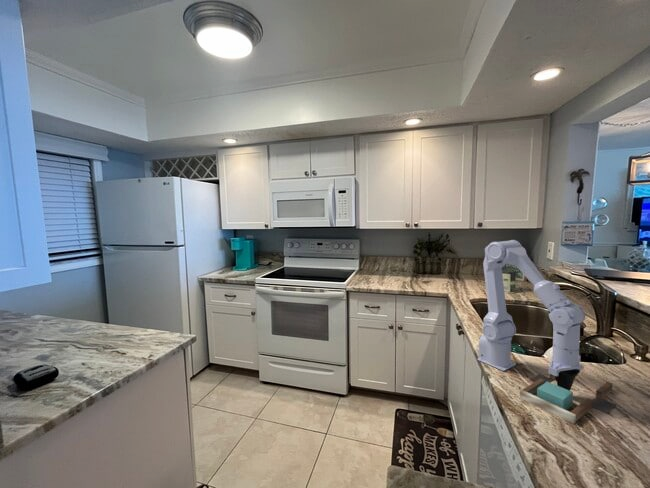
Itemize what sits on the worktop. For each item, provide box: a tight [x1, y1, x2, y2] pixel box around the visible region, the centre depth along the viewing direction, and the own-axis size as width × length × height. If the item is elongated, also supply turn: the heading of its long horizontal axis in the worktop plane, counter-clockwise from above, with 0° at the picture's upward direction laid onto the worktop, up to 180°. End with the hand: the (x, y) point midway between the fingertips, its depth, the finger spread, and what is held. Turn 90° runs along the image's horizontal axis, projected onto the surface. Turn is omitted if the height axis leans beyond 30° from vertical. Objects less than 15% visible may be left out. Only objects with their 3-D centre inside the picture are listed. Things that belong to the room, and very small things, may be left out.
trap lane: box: [519, 373, 617, 425], centre depth 82 cm, size 18×26×2 cm
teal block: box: [536, 382, 574, 411], centre depth 79 cm, size 6×6×4 cm
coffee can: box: [502, 269, 517, 294], centre depth 187 cm, size 10×10×14 cm
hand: (563, 391), depth 82 cm, fingers closed
